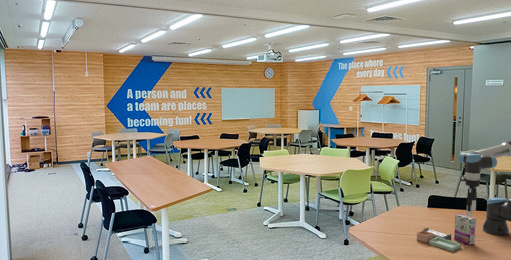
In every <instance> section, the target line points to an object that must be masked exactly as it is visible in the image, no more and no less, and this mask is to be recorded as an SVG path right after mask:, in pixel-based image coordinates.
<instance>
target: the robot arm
mask: <svg viewBox="0 0 511 260" xmlns="http://www.w3.org/2000/svg"><path fill="white" fill-rule="evenodd" d="M502 157H511V140H508V141H504V142H502V143H500V144H498V145H495V146H490V147H486V148H483V149H480V150H476V151H472V152H461V153H460V154H459V155H458V161H459V163H461V164H463V165H465V166H466V167H465V173H464V175H465V186H467V187H468V189H467V194H466V195H467V197H466V203H465V206H466V214H465V216H468V217H472V216H473V211H474V212H476V210H477V201H478V195H477V194H478V192H477V187H480V186H481V185H480V184H481V183H480V182H481V180H480V179H481V170H486V169H494V168H495V167H497V165H498V160H497V159H498V158H502ZM485 216H486V217H485V218H486V219H485V220H484V223H483V226H482V230H483V232H486V233H488V234H490V235H497V236H507V235H509V234H510V229H509V226H508V223H507V222H511V198H509V199H508V198H505V197H488V199H487V203H486V215H485ZM472 218H473V217H472Z"/></svg>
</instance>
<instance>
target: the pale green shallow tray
mask: <svg viewBox="0 0 511 260" xmlns="http://www.w3.org/2000/svg"><path fill="white" fill-rule="evenodd" d="M428 245H429V246H433V247H436V248H440V249H443V250H445V251H449V252H450V253H451V252H452V253H453V252H455V251H457V250H459V249H461V248H462V243H461V242H460V243H459V242H458V241H457V242H456V241H452V240H451V241H450V240H447V239H443V238H440V237H436V238H434V239H431V240H429V243H428Z"/></svg>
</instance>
